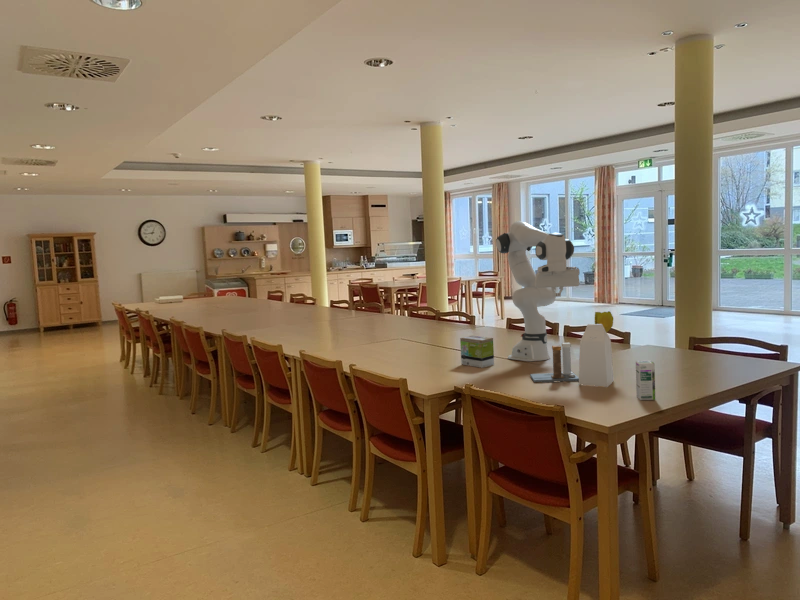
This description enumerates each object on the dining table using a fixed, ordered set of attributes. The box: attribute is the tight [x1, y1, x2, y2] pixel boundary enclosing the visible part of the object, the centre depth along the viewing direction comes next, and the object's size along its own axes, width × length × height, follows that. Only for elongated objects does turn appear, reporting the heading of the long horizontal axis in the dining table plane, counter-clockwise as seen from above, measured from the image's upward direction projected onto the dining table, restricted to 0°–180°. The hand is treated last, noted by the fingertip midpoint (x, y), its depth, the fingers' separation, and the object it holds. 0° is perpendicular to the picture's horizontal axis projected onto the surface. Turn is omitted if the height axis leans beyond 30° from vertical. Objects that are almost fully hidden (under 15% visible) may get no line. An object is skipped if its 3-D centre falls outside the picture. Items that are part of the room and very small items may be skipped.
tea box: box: [459, 335, 495, 369], centre depth 308 cm, size 15×10×15 cm, turn 42°
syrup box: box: [635, 360, 656, 401], centre depth 227 cm, size 6×6×14 cm
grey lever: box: [561, 342, 574, 375], centre depth 270 cm, size 5×4×14 cm
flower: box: [594, 310, 614, 333], centre depth 267 cm, size 9×8×30 cm
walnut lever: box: [551, 344, 564, 378], centre depth 264 cm, size 5×4×14 cm
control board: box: [529, 372, 579, 384], centre depth 268 cm, size 20×13×2 cm, turn 86°
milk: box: [578, 323, 615, 388], centre depth 255 cm, size 12×12×26 cm
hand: (557, 296), depth 277 cm, fingers closed
